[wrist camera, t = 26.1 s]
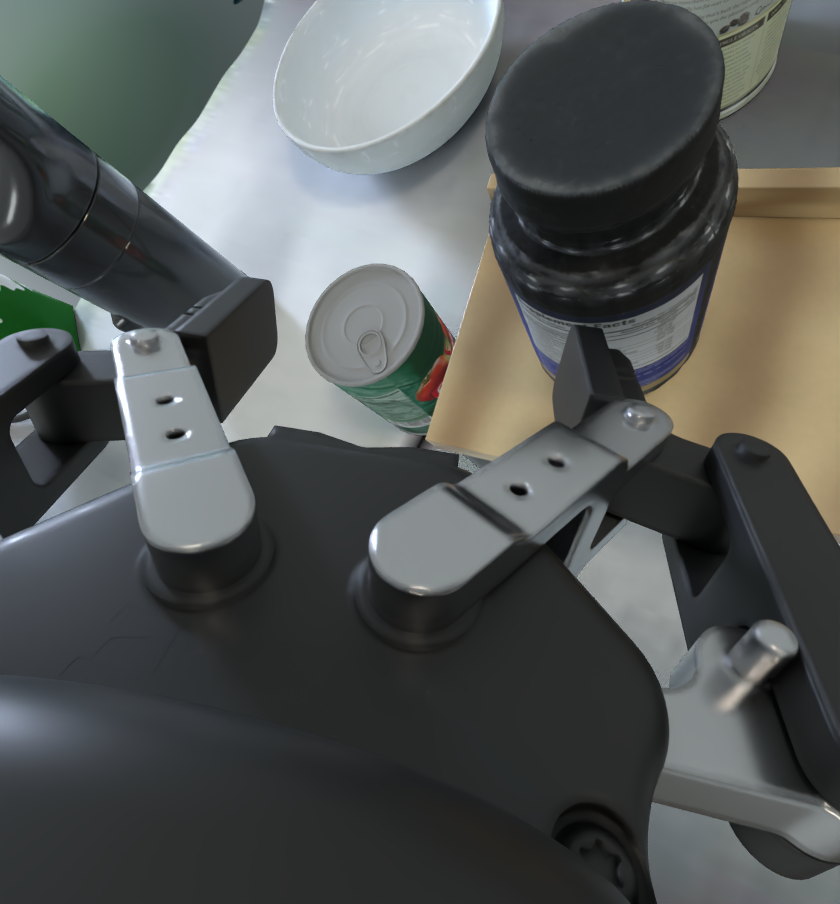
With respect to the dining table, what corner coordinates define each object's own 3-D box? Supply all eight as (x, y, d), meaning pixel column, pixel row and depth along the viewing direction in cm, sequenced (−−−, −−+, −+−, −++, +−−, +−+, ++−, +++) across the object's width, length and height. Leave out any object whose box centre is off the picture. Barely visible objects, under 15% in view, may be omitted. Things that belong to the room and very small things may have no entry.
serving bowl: (414, -9, 51) (385, -90, 45) (571, 57, 42) (561, -33, 36) (278, 151, 53) (232, 94, 47) (400, 247, 44) (363, 192, 38)
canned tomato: (369, 370, 42) (291, 304, 33) (453, 323, 41) (396, 238, 31) (400, 453, 40) (323, 408, 30) (492, 407, 38) (443, 342, 28)
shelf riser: (502, 495, 36) (410, 429, 21) (546, 338, 37) (491, 172, 22) (904, 601, 26) (1256, 619, 12) (941, 386, 28) (1293, 158, 13)
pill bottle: (574, 249, 22) (528, -33, 12) (728, 285, 19) (833, -42, 9) (510, 376, 21) (407, 196, 12) (657, 431, 19) (686, 256, 9)
